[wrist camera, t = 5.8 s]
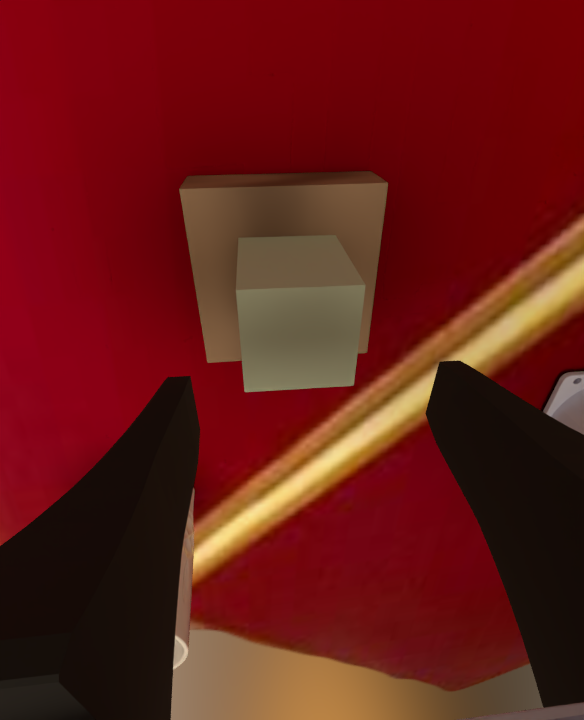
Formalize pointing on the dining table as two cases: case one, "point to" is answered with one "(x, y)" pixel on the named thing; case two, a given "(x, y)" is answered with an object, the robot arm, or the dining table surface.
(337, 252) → the green block
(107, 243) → the dining table surface
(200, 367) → the dining table surface
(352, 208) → the walnut base
